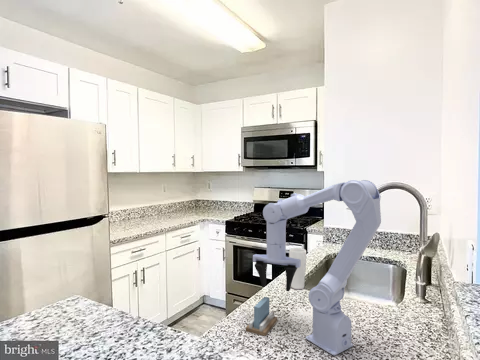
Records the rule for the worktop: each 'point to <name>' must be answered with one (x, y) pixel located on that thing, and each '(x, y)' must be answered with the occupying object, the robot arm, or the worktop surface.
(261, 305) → the door panel
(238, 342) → the worktop surface
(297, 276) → the drinking glass
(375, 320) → the worktop surface
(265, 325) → the bottom track
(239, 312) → the worktop surface
